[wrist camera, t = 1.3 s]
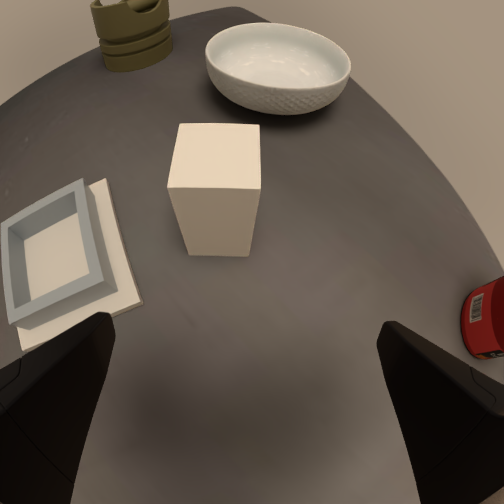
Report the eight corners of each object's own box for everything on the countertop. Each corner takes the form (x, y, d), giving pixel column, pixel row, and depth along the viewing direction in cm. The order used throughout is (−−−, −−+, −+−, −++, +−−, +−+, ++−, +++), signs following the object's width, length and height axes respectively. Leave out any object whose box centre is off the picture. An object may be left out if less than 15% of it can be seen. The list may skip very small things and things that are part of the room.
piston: (183, -16, 26) (110, 10, 22) (186, 48, 37) (126, 79, 33) (141, -19, 28) (79, 6, 24) (148, 34, 39) (94, 62, 35)
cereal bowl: (244, 51, 37) (248, 13, 30) (348, 87, 35) (362, 49, 29) (179, 108, 31) (173, 60, 24) (312, 159, 29) (331, 110, 23)
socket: (143, 303, 22) (128, 291, 19) (28, 351, 19) (2, 346, 16) (108, 183, 26) (95, 159, 23) (11, 234, 23) (-9, 217, 20)
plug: (248, 256, 25) (260, 189, 15) (188, 255, 24) (167, 187, 15) (248, 204, 26) (259, 124, 17) (193, 203, 26) (180, 123, 17)
